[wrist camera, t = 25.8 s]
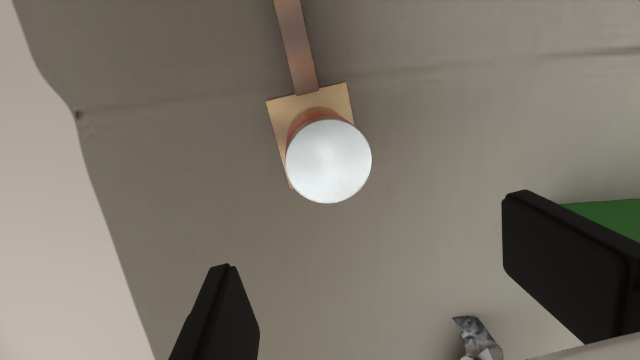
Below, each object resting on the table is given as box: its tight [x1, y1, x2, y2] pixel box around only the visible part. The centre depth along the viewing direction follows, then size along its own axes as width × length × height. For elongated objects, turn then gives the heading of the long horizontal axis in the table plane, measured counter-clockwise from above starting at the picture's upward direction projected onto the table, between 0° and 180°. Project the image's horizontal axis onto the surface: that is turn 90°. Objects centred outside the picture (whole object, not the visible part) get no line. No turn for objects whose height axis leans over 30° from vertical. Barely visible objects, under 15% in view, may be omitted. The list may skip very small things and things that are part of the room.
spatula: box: [266, 0, 354, 189], centre depth 29 cm, size 21×9×5 cm, turn 13°
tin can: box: [285, 106, 372, 204], centre depth 28 cm, size 7×7×11 cm
